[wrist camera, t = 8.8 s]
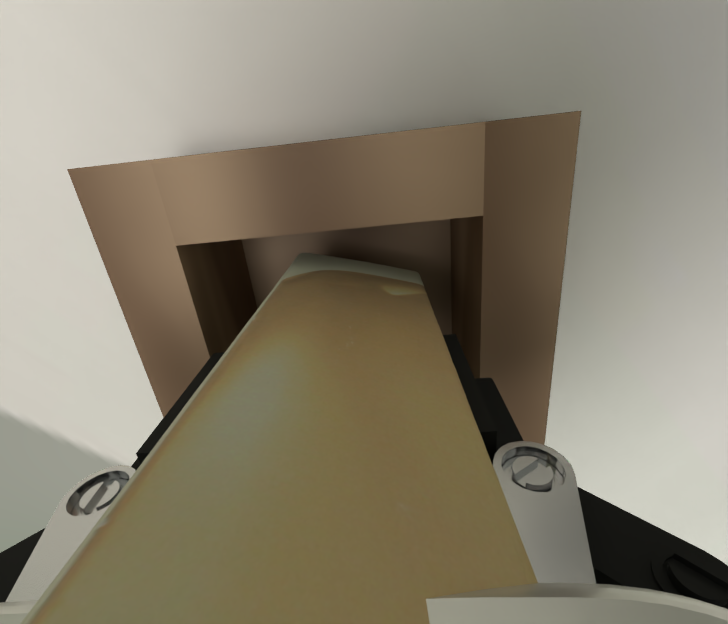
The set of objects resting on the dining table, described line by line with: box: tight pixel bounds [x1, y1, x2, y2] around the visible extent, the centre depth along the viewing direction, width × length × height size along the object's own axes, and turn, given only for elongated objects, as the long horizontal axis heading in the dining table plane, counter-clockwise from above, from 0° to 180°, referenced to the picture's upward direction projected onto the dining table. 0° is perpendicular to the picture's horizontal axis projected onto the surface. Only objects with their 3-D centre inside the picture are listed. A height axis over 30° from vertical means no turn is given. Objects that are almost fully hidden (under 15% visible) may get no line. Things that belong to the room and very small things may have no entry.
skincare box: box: [21, 253, 538, 624], centre depth 9 cm, size 6×4×12 cm
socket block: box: [67, 111, 581, 445], centre depth 15 cm, size 13×13×6 cm
